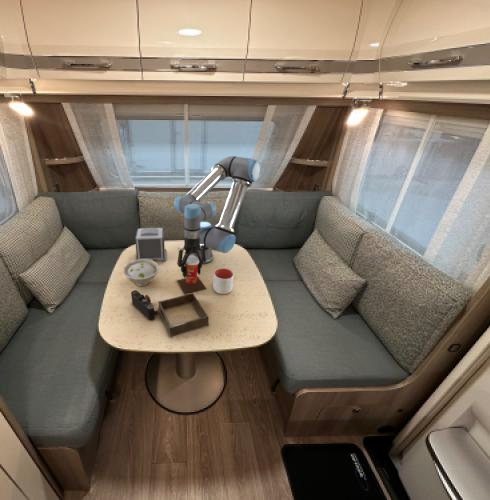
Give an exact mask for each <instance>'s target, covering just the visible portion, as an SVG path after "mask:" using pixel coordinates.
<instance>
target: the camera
mask: <svg viewBox="0 0 490 500" xmlns="http://www.w3.org/2000/svg"><path fill="white" fill-rule="evenodd" d="M130 297H131V302H132V303H131V305H133V307H134V308H136V310H138V311H139V312H140V313H141V314H142V315H143V316H144V317H145V318H146V319H147V320H149V321H154V320H155V319H156V316H158V315H159V310H155V305H154V304H153V303H152V299H151V296H150V295H148V294H145V295H144V294H143V293H141V292H139V291H138V290H137V289H134V290H132V291H131V292H130Z"/></svg>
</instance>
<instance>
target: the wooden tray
mask: <svg viewBox="0 0 490 500" xmlns="http://www.w3.org/2000/svg"><path fill="white" fill-rule="evenodd" d="M191 303H192V305H193V306H194V308H195V310H196V312H197V313H198V314H199V316H200V317H199V318H194V319H191V320H188V321H184V322H181V323H178V324H175V325H172V324H171V323H170V320H169V318H168V316H167V314H166V312H165V310H167V309H171V308H175V307H180V306H183V305H187V304H191ZM157 305H158V313H159V314H160V317H161V318H162V321H163V323H164V325H165V329H166V330H167V333H168V334H169V337H173V336H177V335H181V334H183V333H187V332H190V331H193V330H197V329H201V328H203V327H207V326H209V316H208V314H207V313H206V311H205V310H204V308H203V306H202V305H201V303H200V302H199V300H198V299H197V297H196V295H195V294H194V292H191V293H187V294H183V295H180V296H176V297H171V298H168V299H164V300H159V301H157Z"/></svg>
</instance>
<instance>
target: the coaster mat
mask: <svg viewBox="0 0 490 500" xmlns="http://www.w3.org/2000/svg"><path fill="white" fill-rule="evenodd" d="M177 284H178V285H179V287H180V289H181V290H182V292H183V293H184V295H187V294H191V293H196V292H200V291H203V290H206V289H207V288H206V286H205V284H204V283H203V282H202V280H201V279H200V277H199V276H198V275H197V281H196V283H195V284H188V283H187V282H186V278H181V279H177Z"/></svg>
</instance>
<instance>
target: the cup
mask: <svg viewBox="0 0 490 500" xmlns="http://www.w3.org/2000/svg"><path fill="white" fill-rule="evenodd" d="M234 277H235V276H234V272H233V270H231V269H229V268H225V267H222V268H221V267H220V268H217V269H215V270H214V271H213V281H212V289H213V290H214V292H216V293H218V294H222V295H226V294H229V293H231V292H232V290H233V286H234V285H233V284H234Z"/></svg>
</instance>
